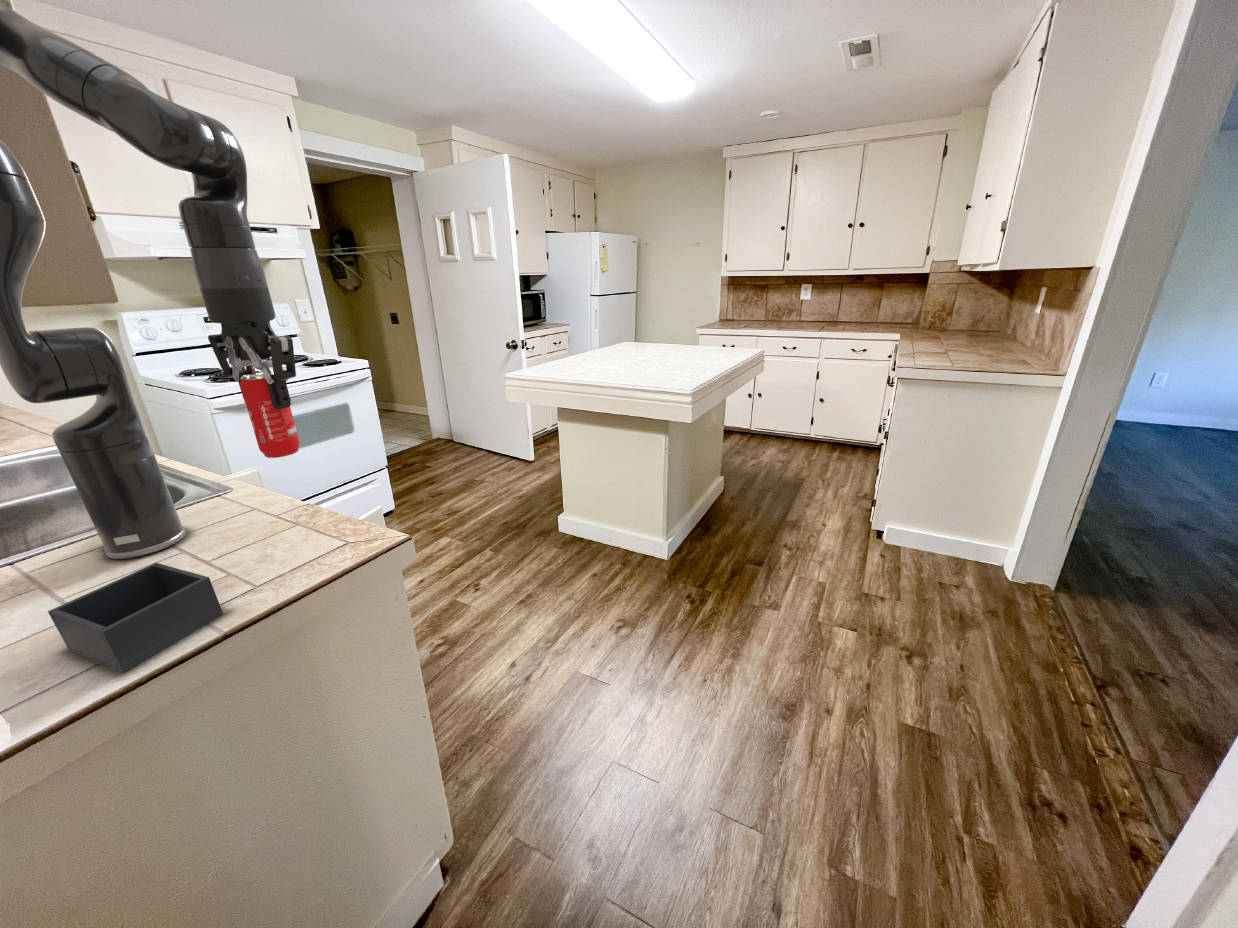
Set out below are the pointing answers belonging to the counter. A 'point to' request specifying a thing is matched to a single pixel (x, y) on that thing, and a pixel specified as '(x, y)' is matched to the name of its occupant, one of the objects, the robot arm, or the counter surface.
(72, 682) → the counter surface
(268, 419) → the beverage can
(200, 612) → the bin
